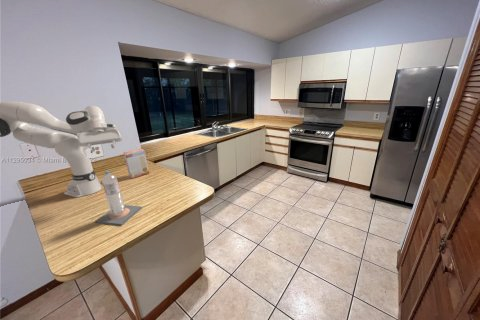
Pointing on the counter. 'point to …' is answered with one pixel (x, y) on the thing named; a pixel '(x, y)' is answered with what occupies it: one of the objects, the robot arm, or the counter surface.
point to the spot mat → (121, 219)
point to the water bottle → (113, 194)
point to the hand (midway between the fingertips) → (103, 149)
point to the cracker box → (136, 163)
